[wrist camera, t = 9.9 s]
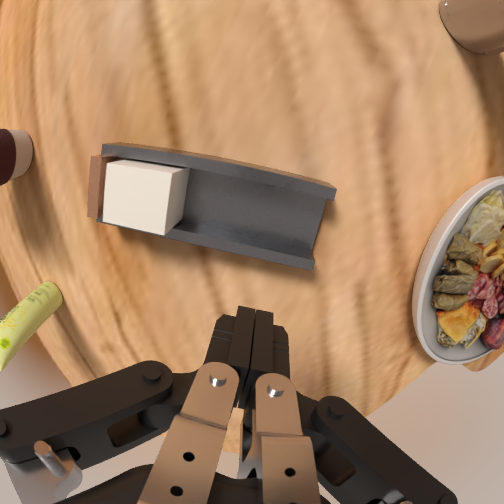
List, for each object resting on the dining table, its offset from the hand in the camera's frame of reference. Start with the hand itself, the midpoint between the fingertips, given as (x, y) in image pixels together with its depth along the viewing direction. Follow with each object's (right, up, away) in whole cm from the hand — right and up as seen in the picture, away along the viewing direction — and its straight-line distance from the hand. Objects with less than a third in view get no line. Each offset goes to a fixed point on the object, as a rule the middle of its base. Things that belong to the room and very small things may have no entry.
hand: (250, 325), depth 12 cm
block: (-11, +10, +19) cm, 24 cm away
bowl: (+35, +1, +21) cm, 41 cm away
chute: (-5, +9, +20) cm, 22 cm away
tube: (-33, -4, +27) cm, 43 cm away
